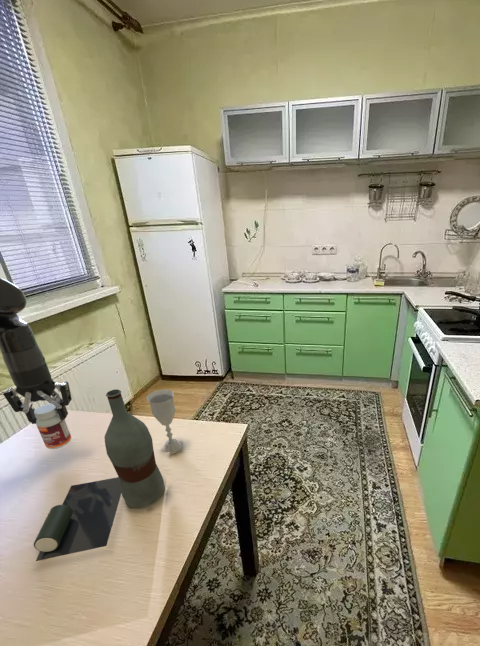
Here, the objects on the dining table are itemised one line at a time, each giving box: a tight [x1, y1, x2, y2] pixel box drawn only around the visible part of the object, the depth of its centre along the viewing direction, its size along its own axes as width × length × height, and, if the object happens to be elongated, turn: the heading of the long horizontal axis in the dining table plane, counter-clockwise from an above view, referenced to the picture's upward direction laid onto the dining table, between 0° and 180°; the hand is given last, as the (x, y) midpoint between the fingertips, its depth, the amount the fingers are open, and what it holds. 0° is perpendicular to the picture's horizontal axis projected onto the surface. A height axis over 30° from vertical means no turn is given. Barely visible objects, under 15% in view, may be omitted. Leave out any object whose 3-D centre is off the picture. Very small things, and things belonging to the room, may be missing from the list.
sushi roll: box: [33, 504, 73, 552], centre depth 68 cm, size 4×8×4 cm, turn 13°
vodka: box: [104, 389, 165, 509], centre depth 72 cm, size 9×9×30 cm
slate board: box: [35, 476, 122, 562], centre depth 74 cm, size 13×20×2 cm, turn 13°
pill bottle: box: [34, 403, 72, 450], centre depth 88 cm, size 6×6×11 cm
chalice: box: [145, 389, 183, 455], centre depth 91 cm, size 7×7×18 cm
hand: (50, 420), depth 87 cm, fingers closed on pill bottle, 6 cm apart
